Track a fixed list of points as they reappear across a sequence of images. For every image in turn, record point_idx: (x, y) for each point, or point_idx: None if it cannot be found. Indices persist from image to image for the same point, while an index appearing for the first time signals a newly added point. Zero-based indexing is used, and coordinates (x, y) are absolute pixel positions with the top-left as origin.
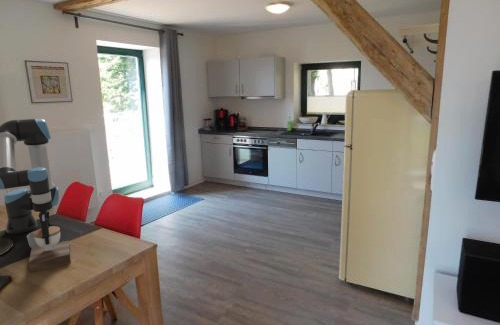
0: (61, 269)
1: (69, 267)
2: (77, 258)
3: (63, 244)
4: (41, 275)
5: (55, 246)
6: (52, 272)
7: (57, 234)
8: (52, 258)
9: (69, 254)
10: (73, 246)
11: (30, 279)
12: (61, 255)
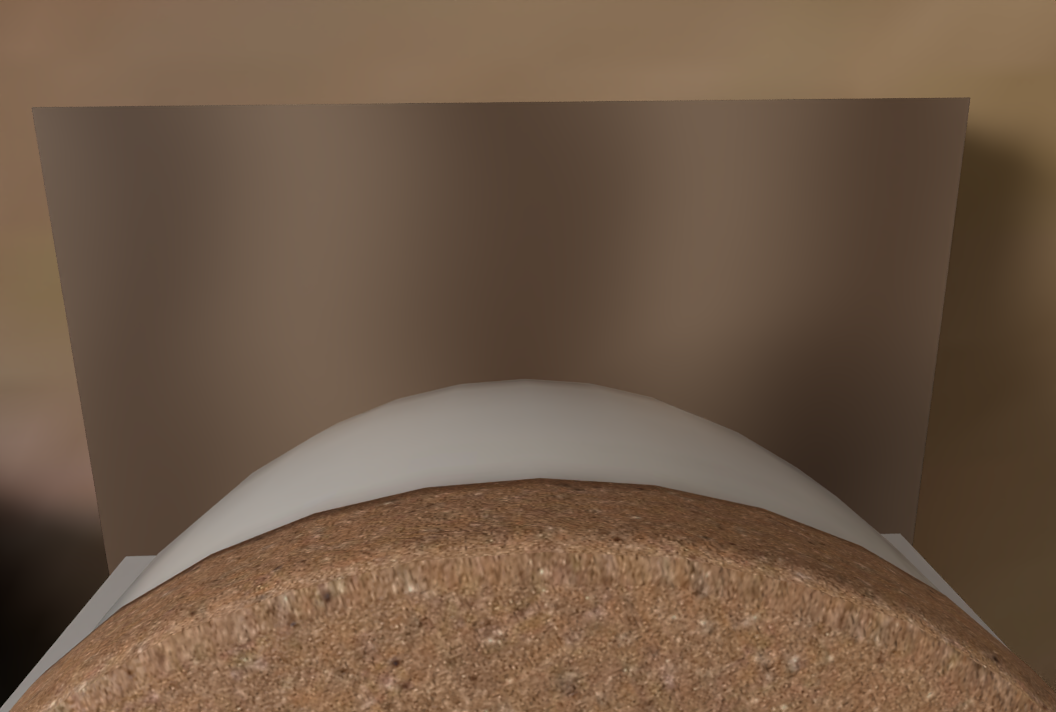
0: (1026, 262)
1: (1045, 123)
2: None
3: (262, 249)
4: (1022, 549)
5: (302, 430)
6: (1035, 400)
7: (909, 568)
8: (917, 457)
9: (941, 98)
10: (48, 32)
11: (1043, 676)
12: (920, 281)
